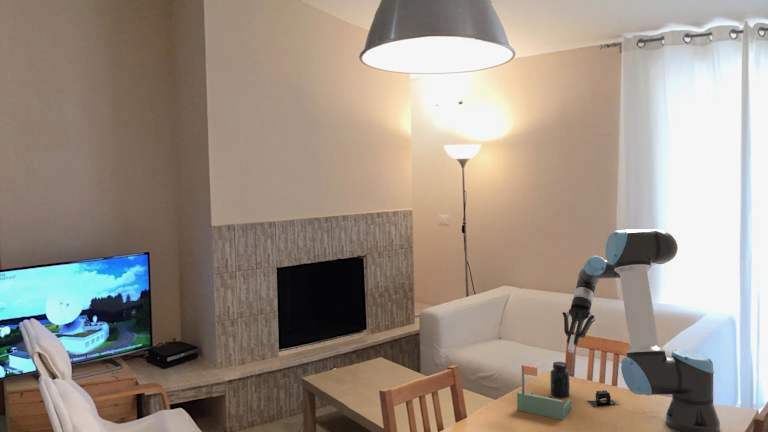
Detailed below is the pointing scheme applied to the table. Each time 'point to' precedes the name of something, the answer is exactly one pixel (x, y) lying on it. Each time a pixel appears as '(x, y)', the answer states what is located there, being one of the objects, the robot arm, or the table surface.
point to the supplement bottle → (559, 380)
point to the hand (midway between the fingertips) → (570, 351)
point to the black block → (602, 402)
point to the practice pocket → (540, 400)
